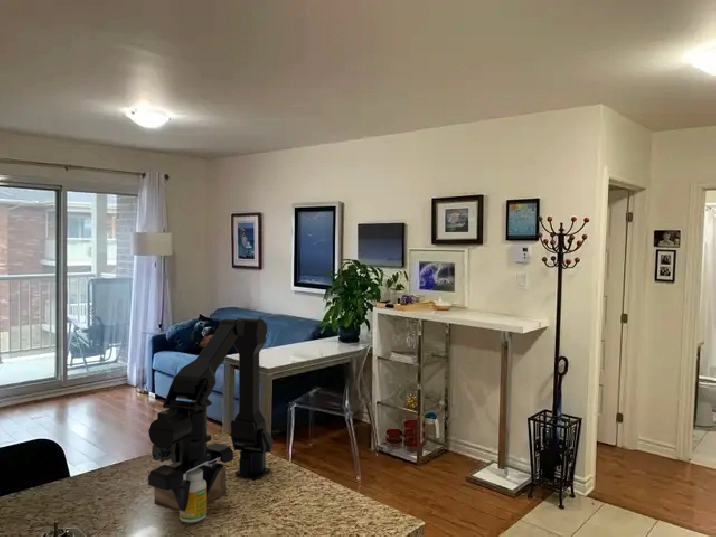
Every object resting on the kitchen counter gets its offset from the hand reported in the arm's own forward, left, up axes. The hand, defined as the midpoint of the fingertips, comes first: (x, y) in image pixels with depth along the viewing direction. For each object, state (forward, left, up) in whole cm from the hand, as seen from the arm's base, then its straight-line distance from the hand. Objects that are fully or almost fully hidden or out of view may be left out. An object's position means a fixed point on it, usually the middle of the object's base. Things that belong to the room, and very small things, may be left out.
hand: (193, 505), depth 116 cm
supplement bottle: (0, 0, -3) cm, 3 cm away
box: (-7, -8, -3) cm, 11 cm away
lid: (-7, -9, +2) cm, 11 cm away
